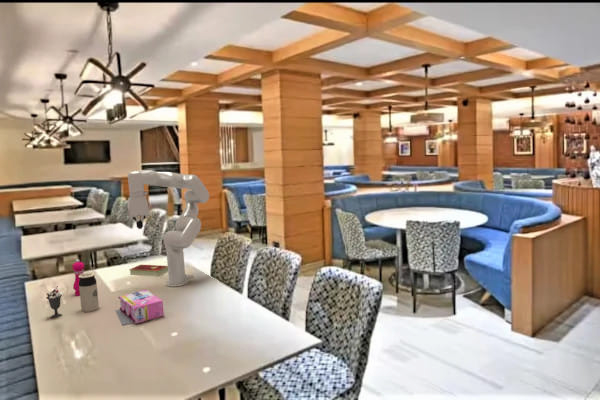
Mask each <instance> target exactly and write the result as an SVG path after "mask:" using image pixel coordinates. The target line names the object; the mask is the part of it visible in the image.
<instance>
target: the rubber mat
mask: <svg viewBox="0 0 600 400" xmlns="http://www.w3.org/2000/svg"><path fill="white" fill-rule="evenodd" d="M115 313H116V314H117V317H118V320H119V321H120V323H121V325H122V326H126V325H132V324H135V323H134V322H133V321H132V320H131V319H129V318H128V317H127V316H126V315H125V314H123V313H122V312H121V311H120V308H119V309H116V310H115ZM131 323H132V324H131Z"/></svg>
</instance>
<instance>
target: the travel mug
mask: <svg viewBox="0 0 600 400" xmlns="http://www.w3.org/2000/svg"><path fill="white" fill-rule="evenodd" d="M95 276H96V273H94V272H86V273H85V272H84V273H83V274H81V275H79V278H80V281H79V290H80V296H79V299H80V307H81V312H83V313H90V312H95V311H96V310H98V309H99V308H100V305H99V295H98V284H97V279H96V278H95Z"/></svg>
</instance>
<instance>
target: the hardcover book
mask: <svg viewBox="0 0 600 400" xmlns="http://www.w3.org/2000/svg"><path fill="white" fill-rule="evenodd" d="M129 271H130V275H131V276H132V275H133V276H149V277H150V276H151V277H159V276H161V275H162V274H165V273H168V265H154V264H138V265H136V266H134V267H132V268H129Z"/></svg>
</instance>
